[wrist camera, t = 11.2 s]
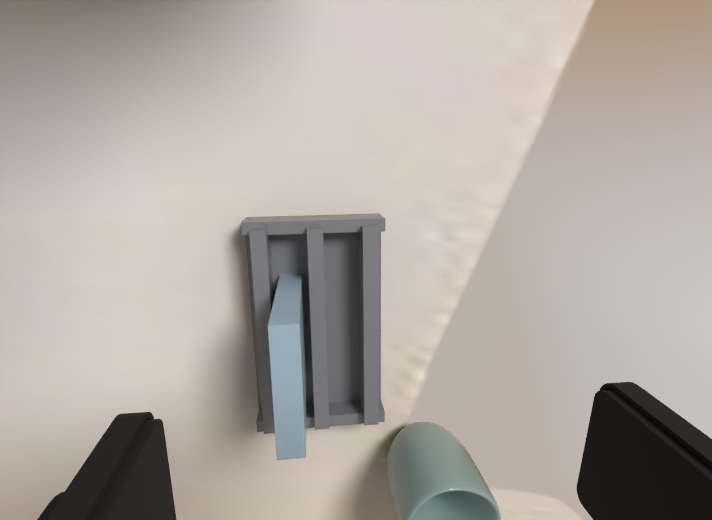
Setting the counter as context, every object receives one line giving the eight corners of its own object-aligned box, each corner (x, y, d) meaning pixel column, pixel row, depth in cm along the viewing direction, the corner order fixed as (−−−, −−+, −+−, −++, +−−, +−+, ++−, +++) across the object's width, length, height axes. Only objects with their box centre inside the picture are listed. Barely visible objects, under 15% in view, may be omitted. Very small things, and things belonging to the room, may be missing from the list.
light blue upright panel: (279, 274, 34) (267, 325, 24) (301, 273, 35) (299, 324, 24) (285, 372, 36) (276, 460, 26) (306, 371, 37) (305, 457, 26)
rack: (246, 217, 34) (238, 224, 30) (378, 213, 35) (387, 220, 31) (261, 411, 38) (256, 439, 34) (378, 402, 39) (386, 428, 35)
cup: (469, 421, 41) (518, 501, 31) (436, 485, 42) (475, 580, 33) (398, 399, 40) (427, 477, 30) (367, 466, 41) (386, 560, 31)
